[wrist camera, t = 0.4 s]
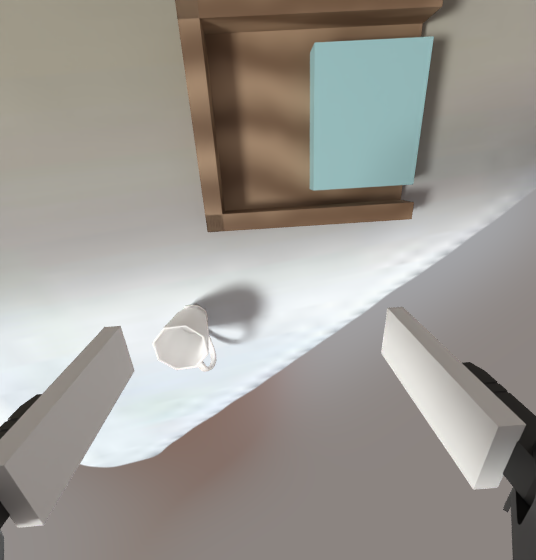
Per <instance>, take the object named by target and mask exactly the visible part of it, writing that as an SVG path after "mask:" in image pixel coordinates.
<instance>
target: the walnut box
mask: <svg viewBox="0 0 536 560" xmlns="http://www.w3.org/2000/svg"><path fill="white" fill-rule="evenodd" d="M175 3H176V11H177V18H178V25H179V32H180V39H181V46H182V53H183V60H184V67H185V74H186V82H187V89H188V96H189V103H190V110H191V117H192V124H193V131H194V138H195V145H196V152H197V160H198V167H199V174H200V181H201V188H202V195H203V202H204V209H205V216H206V223H207V231H208V232H218V231H234V230H249V229H265V228H280V227H296V226H311V225H327V224H342V223H358V222H374V221H389V220H405V219H412V212H413V205H414V202H410V201H405V200H401V193H402V185H395V186H379V187H362V188H346V189H330V190H311V189H310V52H311V50H312V47H313V45H314V43H316V42H335V41H355V40H375V39H395V38H414V37H421V33H422V25H423V23H424V22H425V21H426V20H427V19H428V18H430V17H431V16H432V15H433V14H434V13H435V12H436V11H438V10H439V9H440V8H441V7H442V3H443V0H175Z"/></svg>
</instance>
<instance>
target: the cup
mask: <svg viewBox="0 0 536 560" xmlns="http://www.w3.org/2000/svg"><path fill="white" fill-rule="evenodd" d="M207 322H208V316H207V312H206V310H205V309H203V308H202V307H200V306H198V305H197V304H195V305H187V306H185V307H184V308H183V310H181V311H180V312H178V313H177V314H176V315H175V316H174V317H173V318H172V320H171V321H170V322H169V323H168V324H167V325H166V326H165V327H164V328H163V329H162V331H161V332H160V333H159V335H158V336H157V337H156V339H155V340H154V341H153V346H154V349H155V352H156V355H157V358H158V360H159V361H161V362H163V363H164V364H166V365H168V366H170V367H172V368H174V369H175V370H182V369H190V368H197V367H199V368H200V369H201V370H202V371H204V372H206V371H209V370H211V369H213V367H214V366H215V363H216V353H215V349H214V346H213V343H212V341H211V338H210V336H209V330H208V323H207ZM209 351H210V355H211V363H210V366H209V367H207V366H206V365H205V364H204V362H203V360H204V359H205V357H206V356H207V355H208V352H209Z"/></svg>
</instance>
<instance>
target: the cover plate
mask: <svg viewBox="0 0 536 560" xmlns="http://www.w3.org/2000/svg"><path fill="white" fill-rule="evenodd" d="M433 39H434V37H414V38H395V39H375V40H355V41H335V42H316V43H314V45H313V47H312V50H311V52H310V189H311V190H330V189H346V188H362V187H379V186H395V185H411V184H413V182H414V175H415V168H416V161H417V154H418V146H419V139H420V132H421V125H422V118H423V111H424V103H425V96H426V89H427V82H428V75H429V68H430V60H431V53H432V46H433Z"/></svg>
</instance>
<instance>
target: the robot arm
mask: <svg viewBox="0 0 536 560" xmlns="http://www.w3.org/2000/svg"><path fill="white" fill-rule="evenodd" d="M381 353H382V355H383V356H384V358H385V359H386V361H387V362H388V364H389V365H390V367H391V368H392V370H393V371H394V373H395V374H396V376H397V377H398V379H399V380H400V382H401V383H402V385H403V386H404V387H405V389H406V390H407V392H408V393H409V395H410V396H411V398H412V399H413V401H414V402H415V404H416V405H417V407H418V408H419V410H420V411H421V413H422V414H423V416H424V417H425V418H426V420H427V421H428V423H429V424H430V426H431V427H432V429H433V430H434V432H435V433H436V435H437V436H438V438H439V439H440V441H441V442H442V444H443V445H444V447H445V448H446V450H447V451H448V453H449V454H450V455H451V457H452V458H453V460H454V461H455V463H456V464H457V466H458V467H459V469H460V470H461V472H462V473H463V475H464V476H465V478H466V479H467V480H468V482H469V483H470V485H471V486H472V488H473V489H486V488H496V487H498V486H499V483H500V481H501V479H502V477H503V475H504V476H505V477H506V478H507V479H508V481H509V482H510V483H511V484H512V486H513V488H512V490H511V492H510V494H509V497H508V499H507V501H506V503H505V505H504V509H503V510H505V511H506V512H508V511H509V509H510V507H511V521H512V549H513V560H536V416H535V415H534V414H533V413H532V412H530V411H529V410H528V409H527V408H526V407H525V406H524V405H523V404H522V403H521V402H519V401H518V400H517V399H516V398H515V397H514V396H513V395H512V394H510V393H508V392H507V390H506V389H505V388H504V387H503V386H501V385H500V384H498V383H497V381H496V380H495V379H494V378H492V377H491V376H490V375H489V374H488V373H487V372H485V371H484V370H482V369H481V368H479V367H477V366H475V365H474V364H472V363H470V362H466V363H461V362H460V361H459V360H458V359H457V358H456V357H455V356H454V355H453V354H452V353H451V352H450V351H448V350H447V349H446V348H445V347H444V346H443V345H442V344H441V343H440V342H439V341H438V340H437V339H436V338H435V337H434V336H433V335H432V334H430V332H429V331H427V330H426V329H425V328H424V327H423V326H422V325H421V324H420V323H419V322H418V321H417V320H416V319H415V318H414V317H413V316H412V315H411V314H409V312H407V311H406V310H405V309H404V308H403V307H396V308H395V307H394V308H388V309H387V316H386V323H385V330H384V338H383V345H382V352H381ZM133 372H134V368H133V365H132V361H131V358H130V355H129V352H128V349H127V345H126V342H125V339H124V336H123V332H122V329H121V326H114V327H104V328H103V329H102V330H101V332H100V333H99V334H98V335H97V336H96V337H95V338H94V339H93V340H92V341H91V342H90V343H89V344H88V346H87V347H86V348H85V349H84V350H83V351H82V352H81V353H80V354H79V355H78V356H77V357H76V358H75V360H74V361H73V362H72V363H71V364H70V365H69V366H68V367H67V368H66V369H65V370H64V371H63V372H62V373H61V375H60V376H59V377H58V378H57V379H56V380H55V381H54V382H53V383H52V384H51V385H50V386H49V387H48V389H47V390H46V391H45V392H44V393H43V394H38V395H36V396H34V397H33V398H31V399H30V400H28V401H27V402H26V403H24V404H23V405H21V406H20V407H19V408H18V409H17V410H16V411H15V412H14V413H13V414H12V415H11V416H10V417H9V418H8V421H7V422H5V423H4V424H3V425H2V426H1V427H0V528H1V527H2V526H3V524H4V522H5V521H6V520H7V519H8V517H9V516H10V518H11V519H12V520H13V522H14V523H15V524H16V526H17V527H29V526H41V525H44V524H45V522H46V521H47V519H48V517H49V515H50V513H51V512H52V510H53V509H54V507H55V505H56V504H57V502H58V500H59V498H60V497H61V495H62V493H63V492H64V490H65V488H66V487H67V485H68V483H69V481H70V480H71V478H72V476H73V475H74V473H75V471H76V469H77V468H78V466H79V464H80V463H81V461H82V459H83V458H84V456H85V454H86V452H87V451H88V449H89V447H90V446H91V444H92V442H93V441H94V439H95V437H96V435H97V434H98V432H99V430H100V429H101V427H102V425H103V423H104V422H105V420H106V418H107V417H108V415H109V413H110V412H111V410H112V408H113V406H114V405H115V403H116V401H117V400H118V398H119V396H120V394H121V393H122V391H123V389H124V388H125V386H126V384H127V383H128V381H129V379H130V377H131V376H132V374H133ZM0 560H4V537H3V534H2V532H1V530H0Z"/></svg>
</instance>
